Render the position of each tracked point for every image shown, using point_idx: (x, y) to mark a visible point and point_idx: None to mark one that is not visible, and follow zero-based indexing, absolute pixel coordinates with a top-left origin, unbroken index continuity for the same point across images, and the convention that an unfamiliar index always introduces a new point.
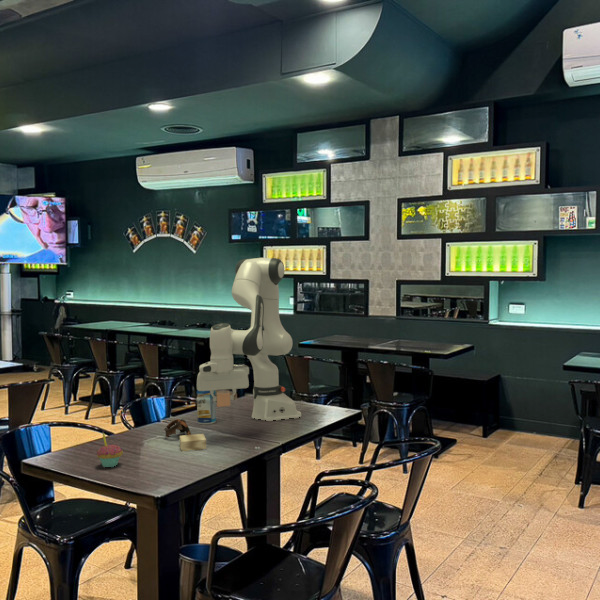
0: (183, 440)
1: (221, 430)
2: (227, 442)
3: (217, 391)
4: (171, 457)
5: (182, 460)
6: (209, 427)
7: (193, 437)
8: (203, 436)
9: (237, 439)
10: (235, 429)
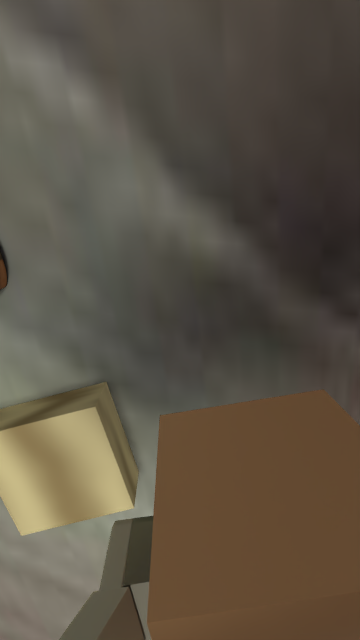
0: (24, 517)
1: (160, 115)
2: (219, 378)
3: (176, 630)
4: (24, 555)
5: (77, 584)
6: (61, 6)
7: (59, 471)
8: (108, 457)
9: (265, 330)
10: (248, 96)
